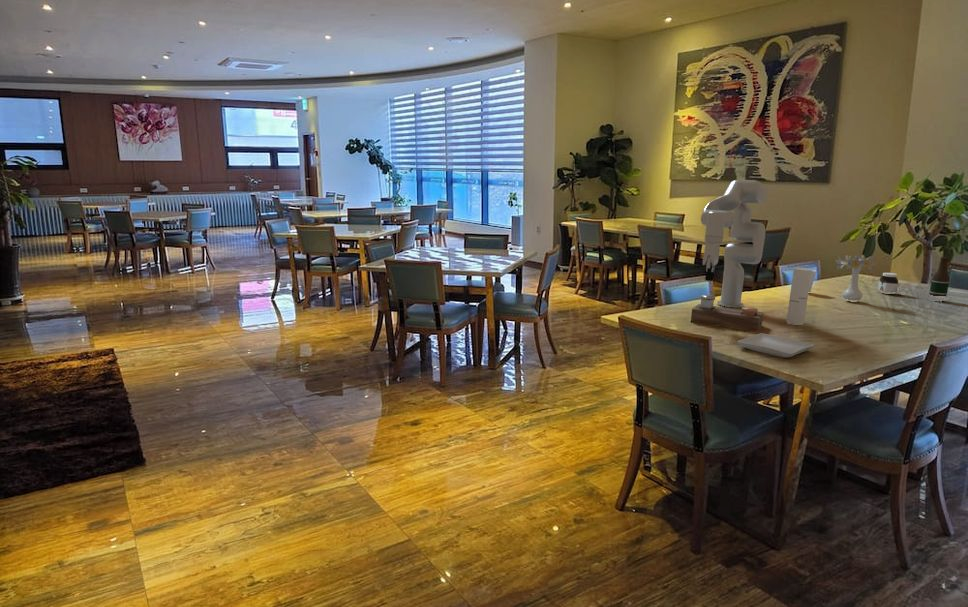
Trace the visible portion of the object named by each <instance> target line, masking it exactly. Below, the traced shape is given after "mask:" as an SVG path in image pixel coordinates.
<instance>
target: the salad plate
mask: <svg viewBox="0 0 968 607" xmlns="http://www.w3.org/2000/svg"><path fill="white" fill-rule="evenodd" d="M736 341H737V340H736ZM737 344H738V345H740V346H741V347H743V348H745V349H748V350H750V351H753V352H758V353H761V354H766V355H770V356H774V357H779V358H783V359H787V358H791V357H793V356H796V355H798V354H801V353H803V352H807V351H809V350H811V349H812V348H814V347H815V344H814V343H813V344H812V343H809V342H805V341H802V340H797V339H792V338H789V337H788V338H787V337H783V336H779V335H773V334H769V333H768V334H767V333H761V332H760V333H757V334H754V335H752V336H747V337H745V338H743V339H738V341H737Z"/></svg>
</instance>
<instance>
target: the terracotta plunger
mask: <svg viewBox="0 0 968 607" xmlns="http://www.w3.org/2000/svg"><path fill="white" fill-rule="evenodd" d="M741 310H742V311H743V314H745V315H752V316H755V314H756V312H758V310H759V309H758V308H757V307H753V306H743V307H741Z"/></svg>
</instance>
